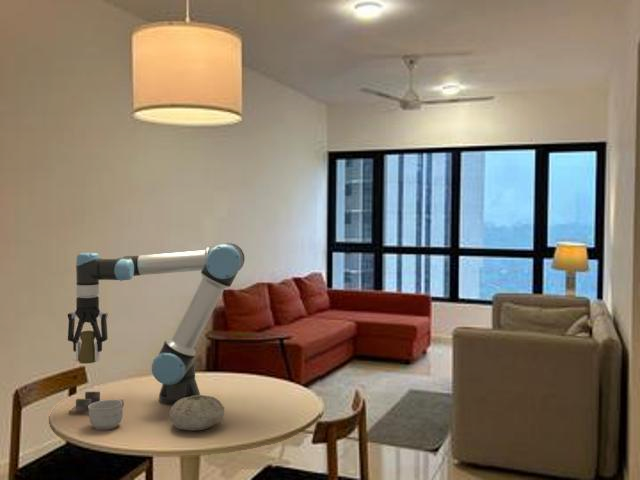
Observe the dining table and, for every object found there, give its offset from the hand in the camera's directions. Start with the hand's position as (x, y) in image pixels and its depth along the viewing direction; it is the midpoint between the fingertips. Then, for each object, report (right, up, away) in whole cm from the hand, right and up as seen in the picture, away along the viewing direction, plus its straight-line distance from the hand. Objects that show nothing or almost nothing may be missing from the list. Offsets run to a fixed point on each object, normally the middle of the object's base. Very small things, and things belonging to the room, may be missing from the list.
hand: (87, 360), depth 223 cm
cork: (0, -1, 0) cm, 1 cm away
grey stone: (+42, -19, -15) cm, 49 cm away
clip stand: (0, -18, +1) cm, 18 cm away
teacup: (+13, -19, -16) cm, 28 cm away
